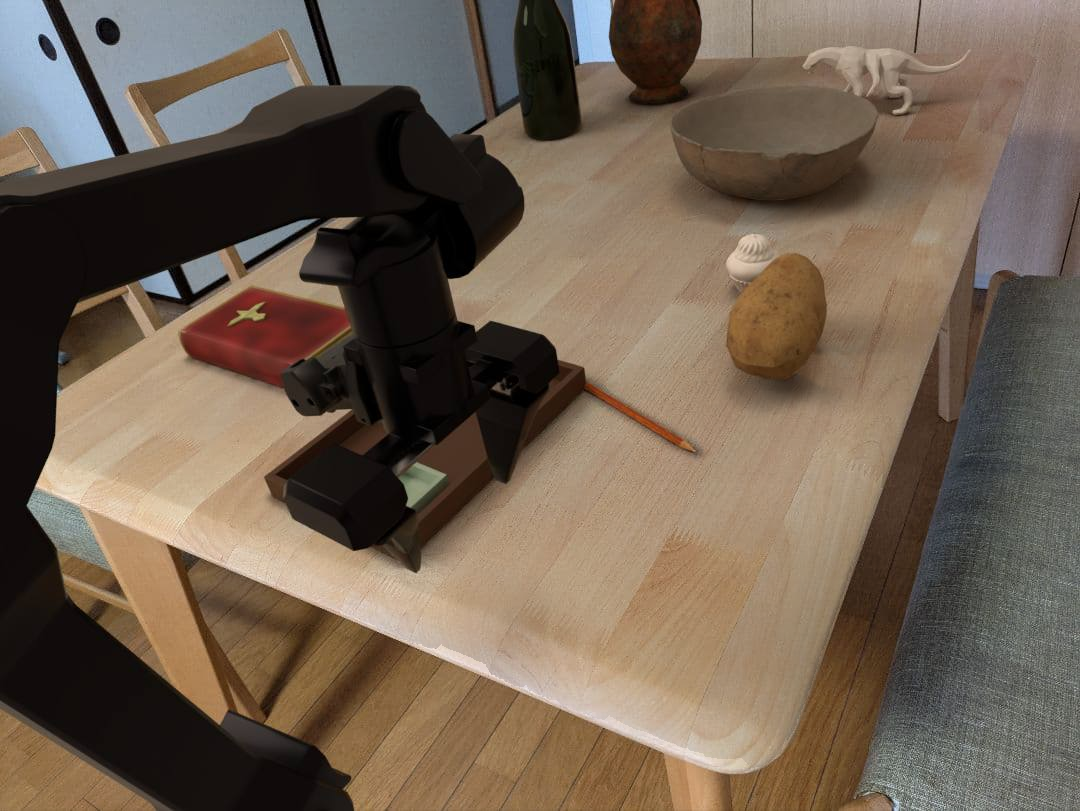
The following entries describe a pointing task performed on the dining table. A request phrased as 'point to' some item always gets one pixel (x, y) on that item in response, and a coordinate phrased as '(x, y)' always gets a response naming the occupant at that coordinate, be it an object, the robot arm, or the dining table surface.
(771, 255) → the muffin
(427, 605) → the dining table surface
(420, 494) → the celadon dish
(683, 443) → the pencil
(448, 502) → the tray
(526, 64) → the beer bottle
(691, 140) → the bowl
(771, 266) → the potato
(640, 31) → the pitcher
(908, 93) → the white dinosaur figurine
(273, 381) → the book
